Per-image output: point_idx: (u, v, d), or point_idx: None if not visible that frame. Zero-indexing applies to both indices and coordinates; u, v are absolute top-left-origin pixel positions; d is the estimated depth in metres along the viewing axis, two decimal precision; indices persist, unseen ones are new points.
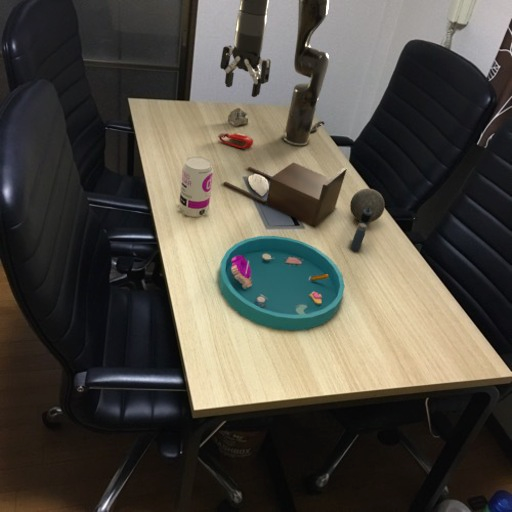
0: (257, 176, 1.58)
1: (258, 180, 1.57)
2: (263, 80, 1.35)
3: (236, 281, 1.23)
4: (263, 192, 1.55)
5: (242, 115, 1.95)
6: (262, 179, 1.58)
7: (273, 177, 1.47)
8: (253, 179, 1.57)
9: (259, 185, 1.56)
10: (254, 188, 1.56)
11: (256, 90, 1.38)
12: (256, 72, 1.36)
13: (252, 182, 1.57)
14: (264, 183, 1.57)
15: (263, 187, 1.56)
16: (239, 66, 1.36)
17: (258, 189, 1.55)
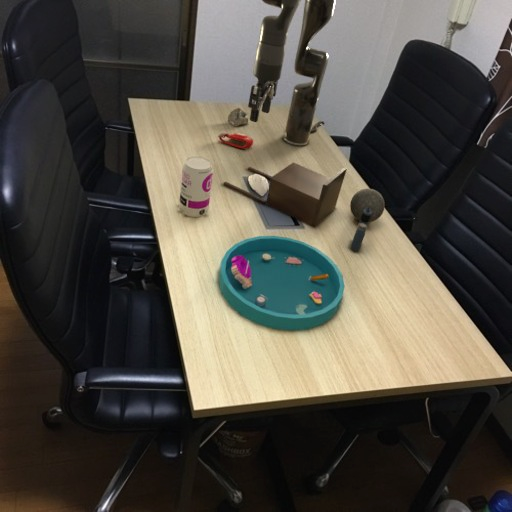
0: (257, 176, 1.58)
1: (258, 180, 1.57)
2: (249, 103, 1.37)
3: (236, 281, 1.23)
4: (263, 192, 1.55)
5: (242, 115, 1.95)
6: (262, 179, 1.58)
7: (273, 177, 1.47)
8: (253, 179, 1.57)
9: (259, 185, 1.56)
10: (254, 188, 1.56)
11: None
12: None
13: (252, 182, 1.57)
14: (264, 183, 1.57)
15: (263, 187, 1.56)
16: None
17: (258, 189, 1.55)
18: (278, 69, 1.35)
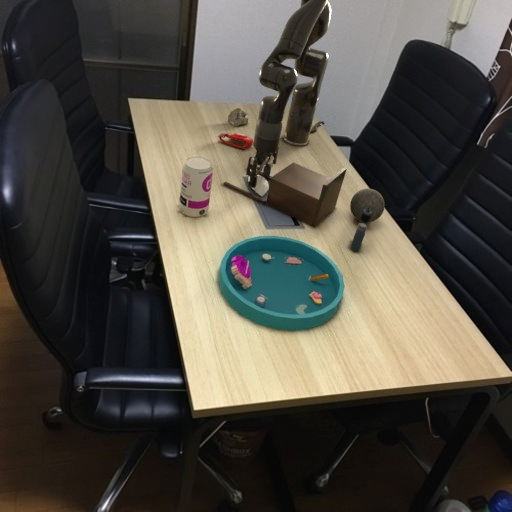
0: (257, 176, 1.59)
1: (258, 180, 1.57)
2: (247, 172, 1.51)
3: (236, 281, 1.23)
4: (262, 192, 1.55)
5: (242, 115, 1.95)
6: (262, 179, 1.58)
7: (273, 177, 1.47)
8: None
9: (259, 185, 1.56)
10: (254, 188, 1.56)
11: None
12: None
13: None
14: (264, 183, 1.57)
15: (263, 187, 1.56)
16: None
17: (258, 189, 1.55)
18: (274, 143, 1.47)
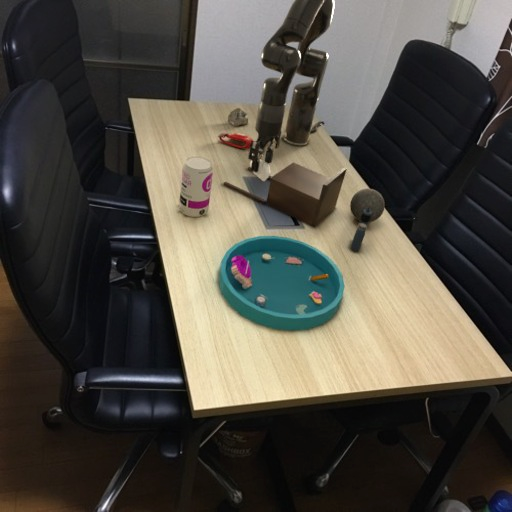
0: None
1: (260, 165, 1.54)
2: (249, 156, 1.48)
3: (236, 281, 1.23)
4: (264, 177, 1.52)
5: (242, 115, 1.95)
6: (264, 164, 1.55)
7: (273, 177, 1.47)
8: None
9: (261, 170, 1.53)
10: (255, 173, 1.53)
11: None
12: None
13: None
14: (266, 168, 1.54)
15: (265, 172, 1.53)
16: None
17: (260, 174, 1.53)
18: (277, 126, 1.44)
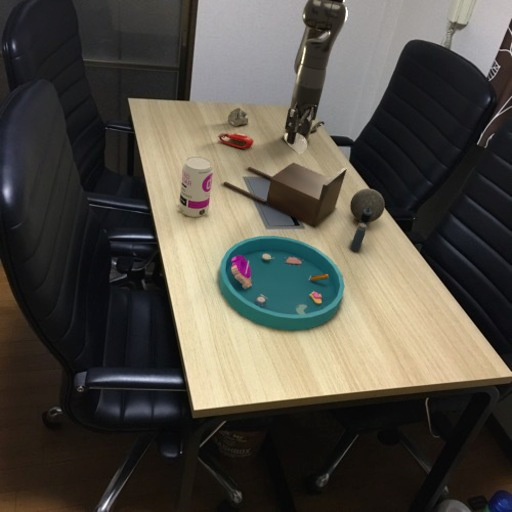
0: None
1: (296, 137, 1.42)
2: (285, 125, 1.37)
3: (236, 281, 1.23)
4: (301, 150, 1.41)
5: (242, 115, 1.95)
6: (300, 136, 1.43)
7: (273, 177, 1.47)
8: None
9: (297, 143, 1.41)
10: (291, 145, 1.41)
11: None
12: None
13: None
14: (302, 140, 1.43)
15: (301, 144, 1.41)
16: None
17: (296, 146, 1.41)
18: (317, 92, 1.33)
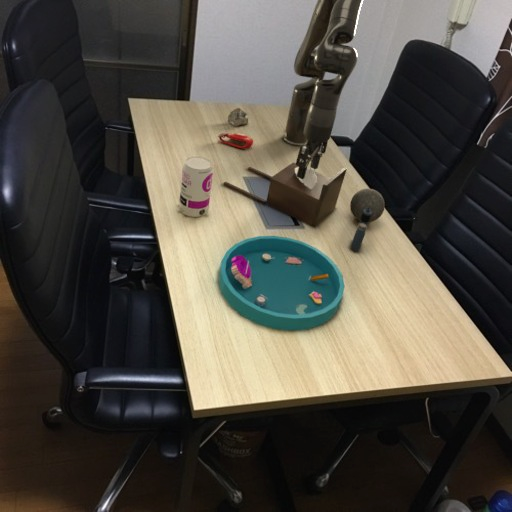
0: None
1: (306, 172, 1.46)
2: None
3: (236, 281, 1.23)
4: (312, 185, 1.45)
5: (242, 115, 1.95)
6: (310, 171, 1.47)
7: (273, 177, 1.47)
8: None
9: (308, 178, 1.45)
10: (302, 180, 1.45)
11: None
12: None
13: None
14: (312, 175, 1.46)
15: (312, 180, 1.45)
16: None
17: (307, 182, 1.45)
18: (328, 130, 1.36)
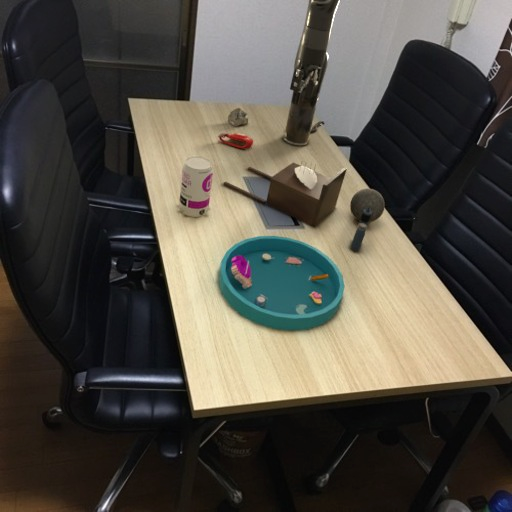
0: (304, 168, 1.48)
1: (306, 172, 1.46)
2: (290, 86, 1.42)
3: (236, 281, 1.23)
4: (312, 185, 1.45)
5: (242, 115, 1.95)
6: (310, 171, 1.47)
7: (273, 177, 1.47)
8: (300, 171, 1.47)
9: (308, 178, 1.45)
10: (302, 180, 1.45)
11: None
12: None
13: (300, 175, 1.46)
14: (312, 175, 1.46)
15: (312, 180, 1.45)
16: None
17: (307, 182, 1.45)
18: (321, 53, 1.38)
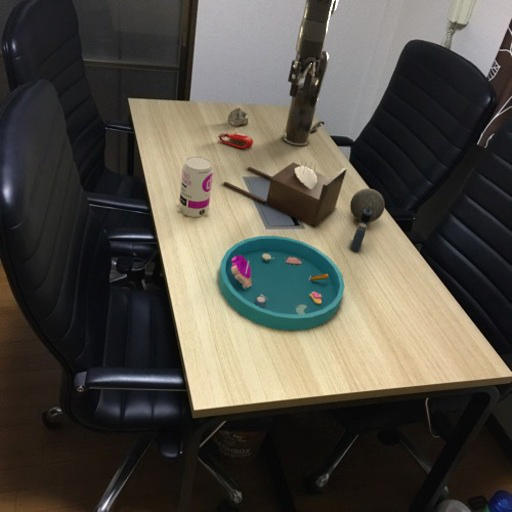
0: (304, 168, 1.48)
1: (306, 172, 1.46)
2: (288, 78, 1.43)
3: (236, 281, 1.23)
4: (312, 185, 1.45)
5: (242, 115, 1.95)
6: (310, 171, 1.47)
7: (273, 177, 1.47)
8: (300, 171, 1.47)
9: (308, 178, 1.45)
10: (302, 180, 1.45)
11: None
12: None
13: (300, 175, 1.46)
14: (312, 175, 1.46)
15: (312, 180, 1.45)
16: None
17: (307, 182, 1.45)
18: (319, 45, 1.39)
